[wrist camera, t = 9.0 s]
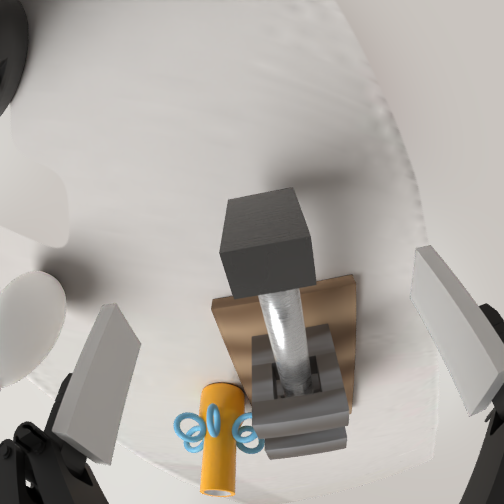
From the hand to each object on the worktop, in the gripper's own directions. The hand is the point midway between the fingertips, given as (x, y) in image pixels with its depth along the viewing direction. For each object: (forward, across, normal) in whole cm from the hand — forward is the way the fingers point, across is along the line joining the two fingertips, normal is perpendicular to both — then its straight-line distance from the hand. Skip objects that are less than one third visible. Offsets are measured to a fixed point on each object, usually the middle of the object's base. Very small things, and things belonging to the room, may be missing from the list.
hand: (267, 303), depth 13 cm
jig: (+14, 0, -24) cm, 27 cm away
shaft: (+10, 0, -11) cm, 15 cm away
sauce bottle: (+15, -25, -5) cm, 29 cm away
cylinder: (+14, -10, -28) cm, 33 cm away
